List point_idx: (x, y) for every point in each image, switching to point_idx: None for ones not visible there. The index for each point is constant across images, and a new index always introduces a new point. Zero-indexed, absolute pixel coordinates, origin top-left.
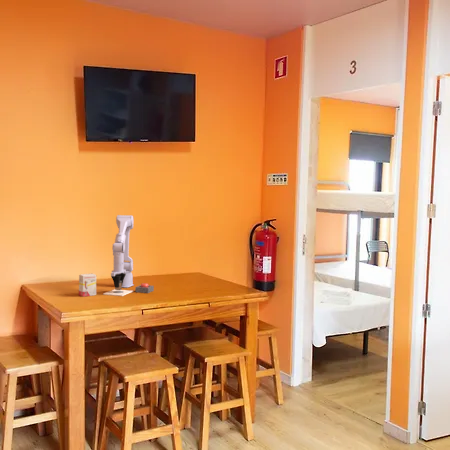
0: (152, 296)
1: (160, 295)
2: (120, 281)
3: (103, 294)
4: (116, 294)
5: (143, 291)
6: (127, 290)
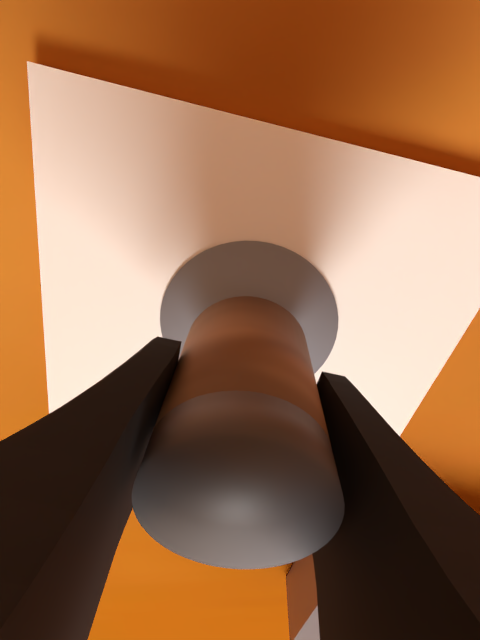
0: (149, 603)
1: (205, 633)
2: (186, 554)
3: (38, 75)
4: (60, 339)
5: (302, 566)
6: (399, 419)
